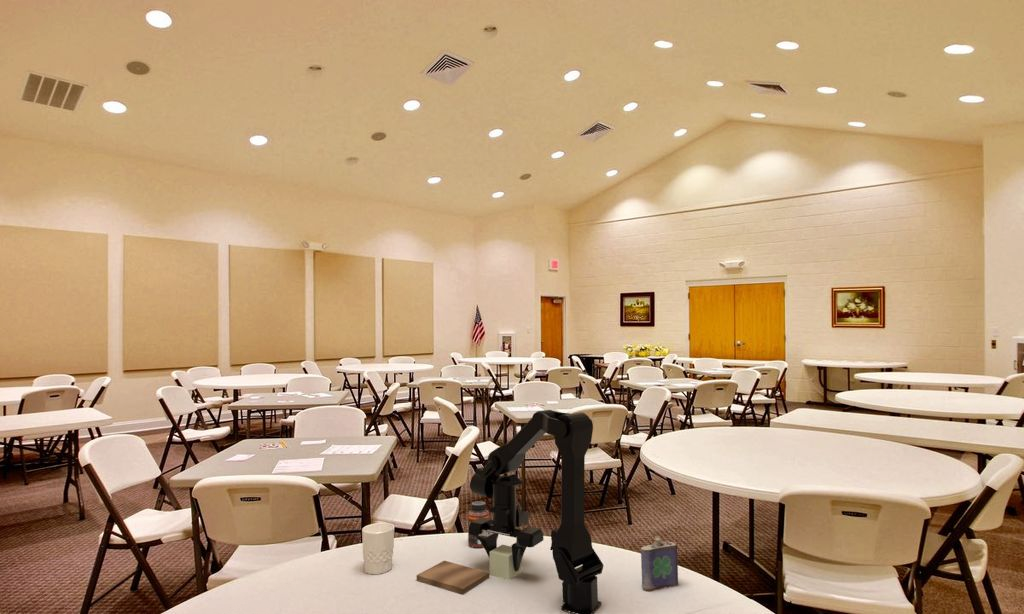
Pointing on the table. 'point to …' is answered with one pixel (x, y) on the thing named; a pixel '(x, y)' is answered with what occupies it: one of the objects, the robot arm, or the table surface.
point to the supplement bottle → (474, 514)
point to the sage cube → (502, 563)
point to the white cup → (378, 547)
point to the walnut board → (453, 577)
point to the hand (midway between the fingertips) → (505, 568)
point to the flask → (659, 565)
